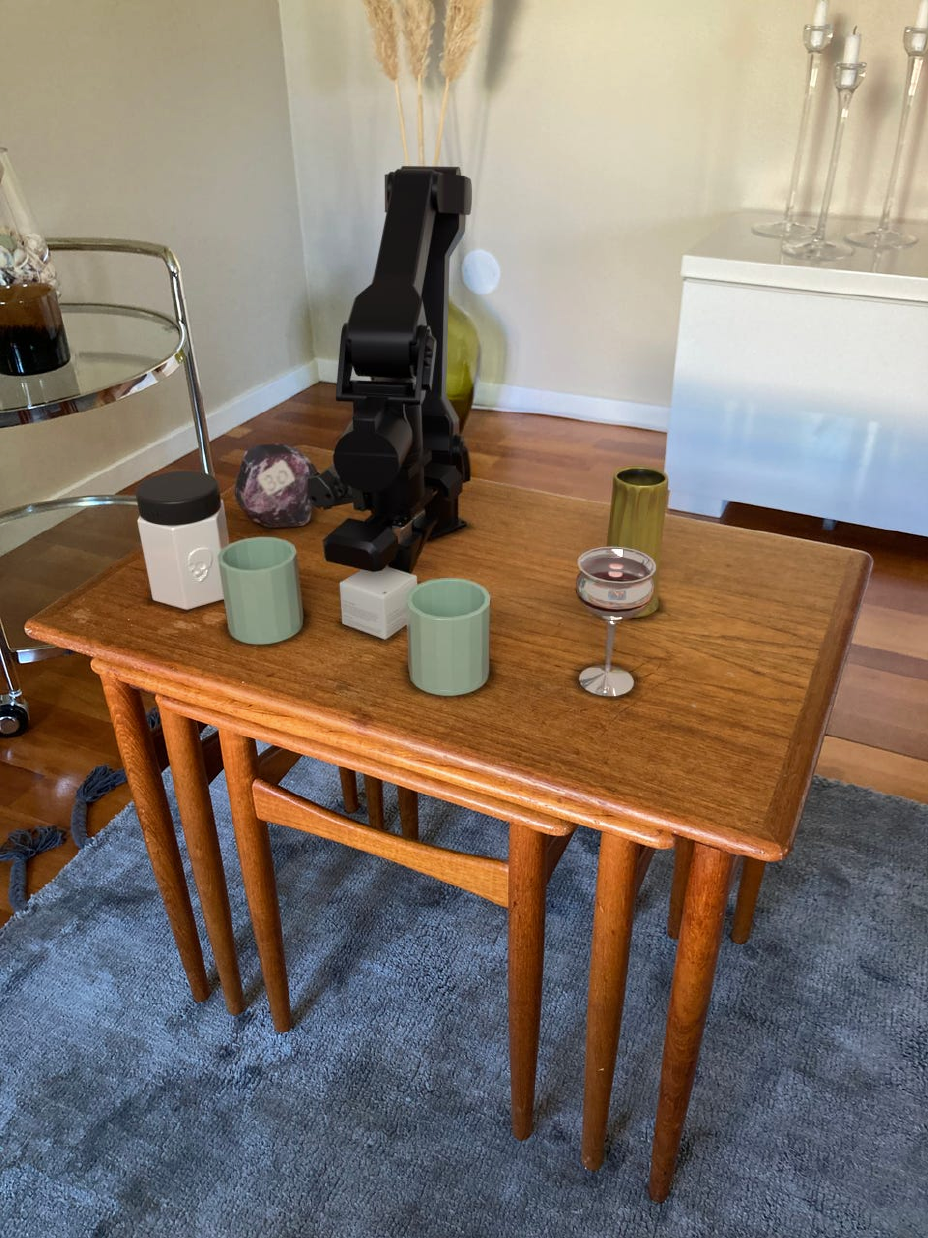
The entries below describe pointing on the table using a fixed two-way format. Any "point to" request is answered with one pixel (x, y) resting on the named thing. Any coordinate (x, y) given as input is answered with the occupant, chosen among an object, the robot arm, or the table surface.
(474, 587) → the cup
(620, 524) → the vase
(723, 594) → the table surface
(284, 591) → the cup
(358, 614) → the small box
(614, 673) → the wineglass
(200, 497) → the jar
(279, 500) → the mineral specimen
